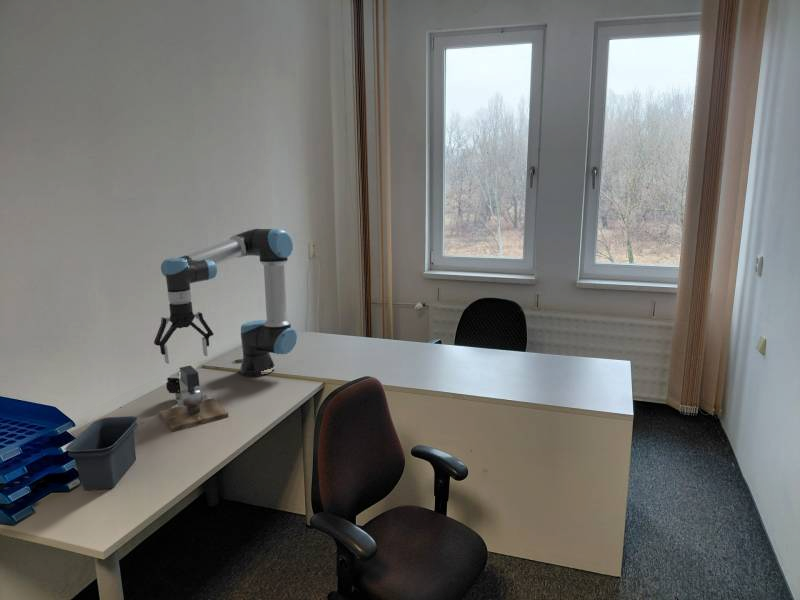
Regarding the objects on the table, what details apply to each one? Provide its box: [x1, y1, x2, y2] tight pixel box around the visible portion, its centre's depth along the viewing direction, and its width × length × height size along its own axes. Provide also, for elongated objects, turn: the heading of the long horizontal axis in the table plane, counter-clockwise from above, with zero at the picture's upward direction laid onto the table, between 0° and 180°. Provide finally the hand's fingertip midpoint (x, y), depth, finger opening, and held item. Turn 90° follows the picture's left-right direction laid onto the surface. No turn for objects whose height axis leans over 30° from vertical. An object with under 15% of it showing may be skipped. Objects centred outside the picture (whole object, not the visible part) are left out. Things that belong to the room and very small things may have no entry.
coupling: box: [176, 365, 208, 407], centre depth 205 cm, size 10×10×13 cm
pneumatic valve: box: [165, 370, 187, 402], centre depth 222 cm, size 6×12×12 cm, turn 169°
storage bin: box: [65, 415, 139, 491], centre depth 166 cm, size 21×16×14 cm
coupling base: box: [159, 397, 229, 432], centre depth 207 cm, size 20×18×5 cm
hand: (186, 358), depth 203 cm, fingers open, 13 cm apart
